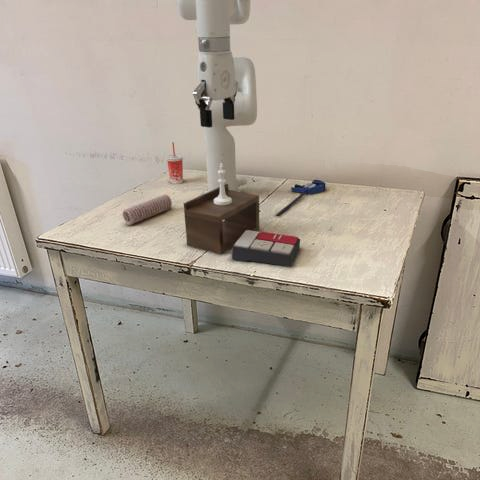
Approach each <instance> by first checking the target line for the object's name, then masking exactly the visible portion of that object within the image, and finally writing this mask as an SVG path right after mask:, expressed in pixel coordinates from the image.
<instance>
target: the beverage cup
mask: <svg viewBox="0 0 480 480" xmlns="http://www.w3.org/2000/svg"><path fill="white" fill-rule="evenodd" d="M172 152H173V154H172V155H167V156H166V157H165V160H166V162H167V169H168V174H169V182H170V183H171V184H174V185H178V184H182V183H183V182H184V167H183V164H184V163H183V160H184V156H183V155H181V154H176V152H175V142H174V141H173V142H172Z"/></svg>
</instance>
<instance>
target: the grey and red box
mask: <svg viewBox="0 0 480 480" xmlns="http://www.w3.org/2000/svg"><path fill="white" fill-rule="evenodd" d="M300 246H301V238H299V237H298V236H294V235H289V234H282V233H275V232H267V231H250V230H246V231H244V232H243V233H242V235H241V236H240V237H239V238H238V240H237V241H236V242H235V243H234V245H233V246H232V247H231V259H232V260H233V261H234V260H235V261H240V262H246V263H247V262H249V261H253V262H259V263H265V264H272V265H277V266H283V267H291V266H292V264H293V263H294V260H295V258H296V256H297V254H298V253H299V250H300Z"/></svg>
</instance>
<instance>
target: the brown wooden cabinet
mask: <svg viewBox="0 0 480 480" xmlns="http://www.w3.org/2000/svg"><path fill="white" fill-rule="evenodd" d="M224 187H225V193H226V195H227V197H230V198H231V199H232V203H230V204H227V205H217V204H215V203H214V199H215V198H216V197H218V195H219V193H220V187H218V188H216V189H214V190H211V191H209V192H207V193H205V194H204V193H202V194H201V195H198V196H196V197H194V198H192V199H189V200H187V201H185V202H183V213H184V224H185V225H184V226H185V235H186V238H185V239H186V245H187V246H188V247H192V248H195V249H199V250H203V251H207V252H210V253H213V254H214V253H215V254H219V255H222V254H223V253H225V252H226V251H228V250H229V249H232V246H233V245H234V243H235V242H236V241H237V240H238V238H239V237H240V236H241V235H242V233H243V232H244V231H246V230H250V231H257V232H259V231H260V194H259V195H258V194H253V193H248V192H242V191H241V192H238V191H232V190H228V184H225V185H224Z"/></svg>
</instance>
